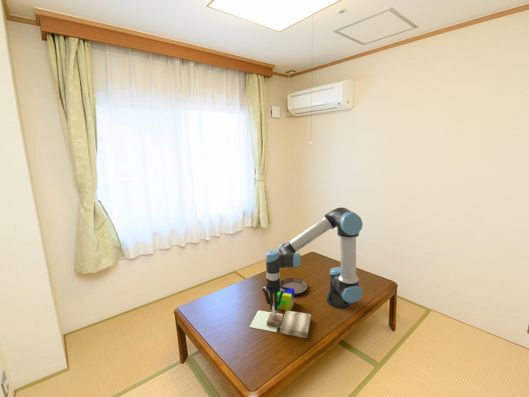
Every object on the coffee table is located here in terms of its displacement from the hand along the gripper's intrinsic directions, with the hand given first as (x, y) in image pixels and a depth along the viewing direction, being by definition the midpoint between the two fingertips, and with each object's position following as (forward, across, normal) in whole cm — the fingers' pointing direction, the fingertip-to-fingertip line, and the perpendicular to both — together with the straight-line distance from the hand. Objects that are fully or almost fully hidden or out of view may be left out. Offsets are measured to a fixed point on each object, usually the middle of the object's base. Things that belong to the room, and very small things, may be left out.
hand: (274, 314), depth 155 cm
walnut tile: (+5, -1, 0) cm, 5 cm away
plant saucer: (+5, -3, -39) cm, 40 cm away
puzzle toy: (+5, -2, -18) cm, 19 cm away
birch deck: (+5, -13, 0) cm, 14 cm away
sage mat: (+5, +5, 0) cm, 7 cm away
